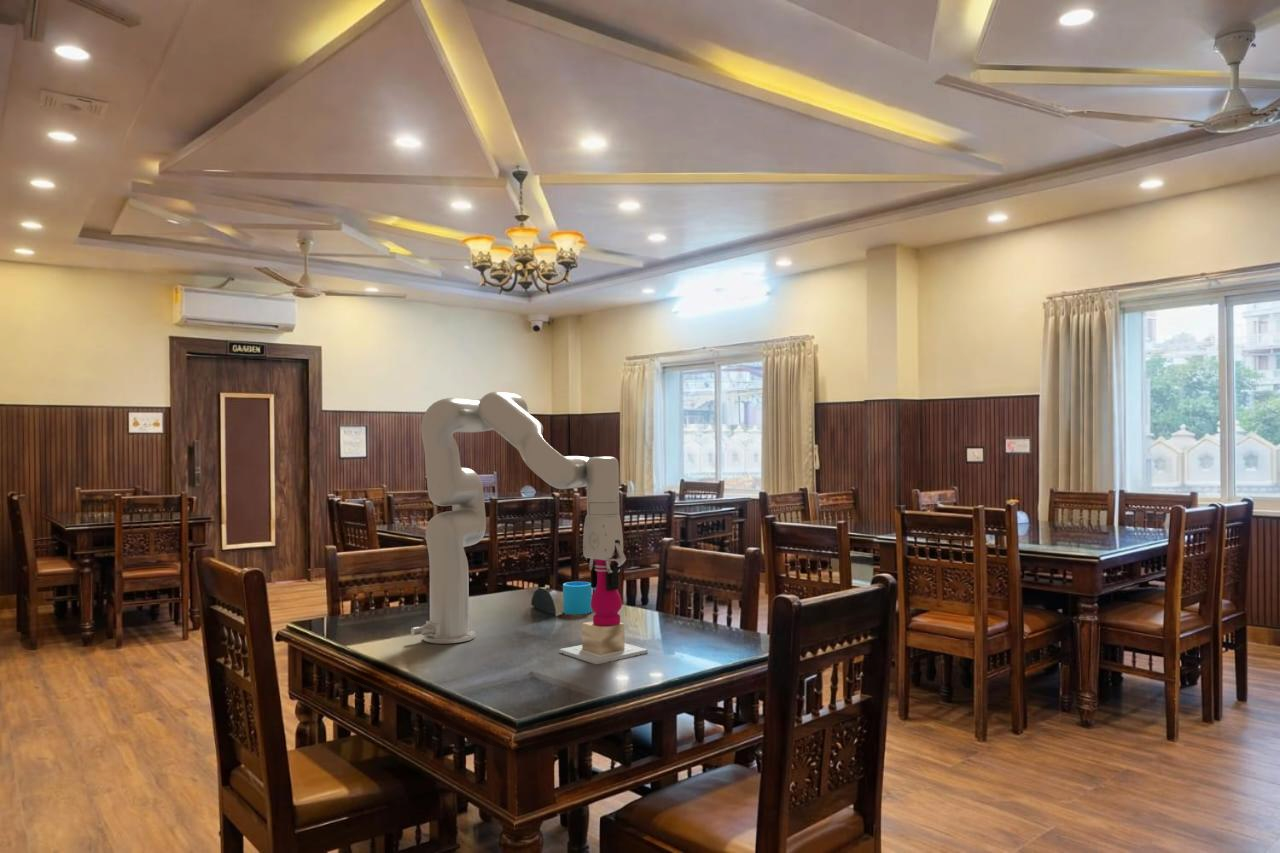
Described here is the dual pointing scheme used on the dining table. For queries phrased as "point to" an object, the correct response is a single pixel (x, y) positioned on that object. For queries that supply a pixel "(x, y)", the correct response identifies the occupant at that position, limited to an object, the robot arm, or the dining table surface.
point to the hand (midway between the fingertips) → (604, 587)
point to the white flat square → (597, 658)
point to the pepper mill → (605, 598)
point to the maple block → (603, 638)
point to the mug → (577, 597)
